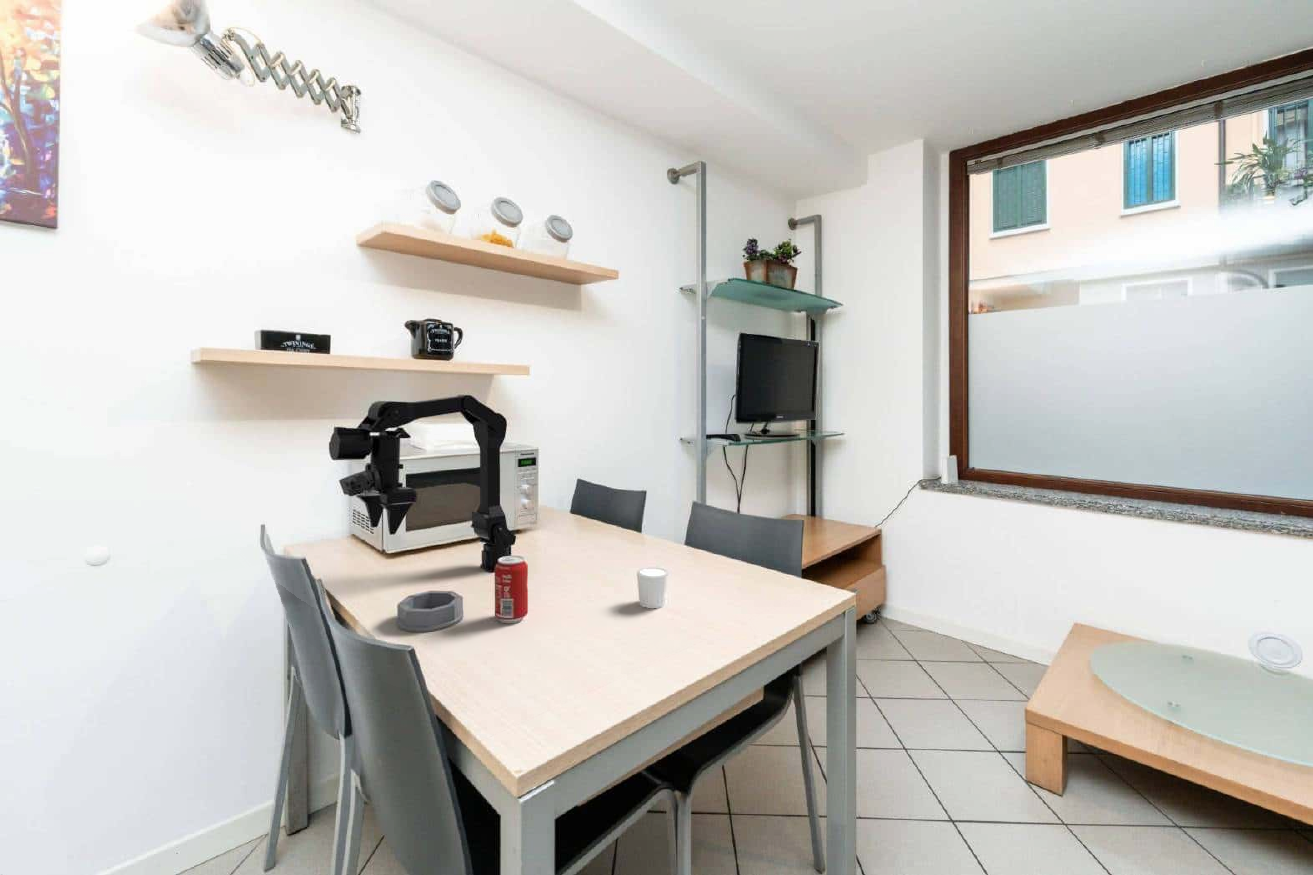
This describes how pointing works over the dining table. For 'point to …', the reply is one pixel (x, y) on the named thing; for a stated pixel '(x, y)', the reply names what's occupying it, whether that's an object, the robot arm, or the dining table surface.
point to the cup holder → (430, 611)
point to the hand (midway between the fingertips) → (383, 530)
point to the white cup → (652, 587)
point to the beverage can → (511, 589)
